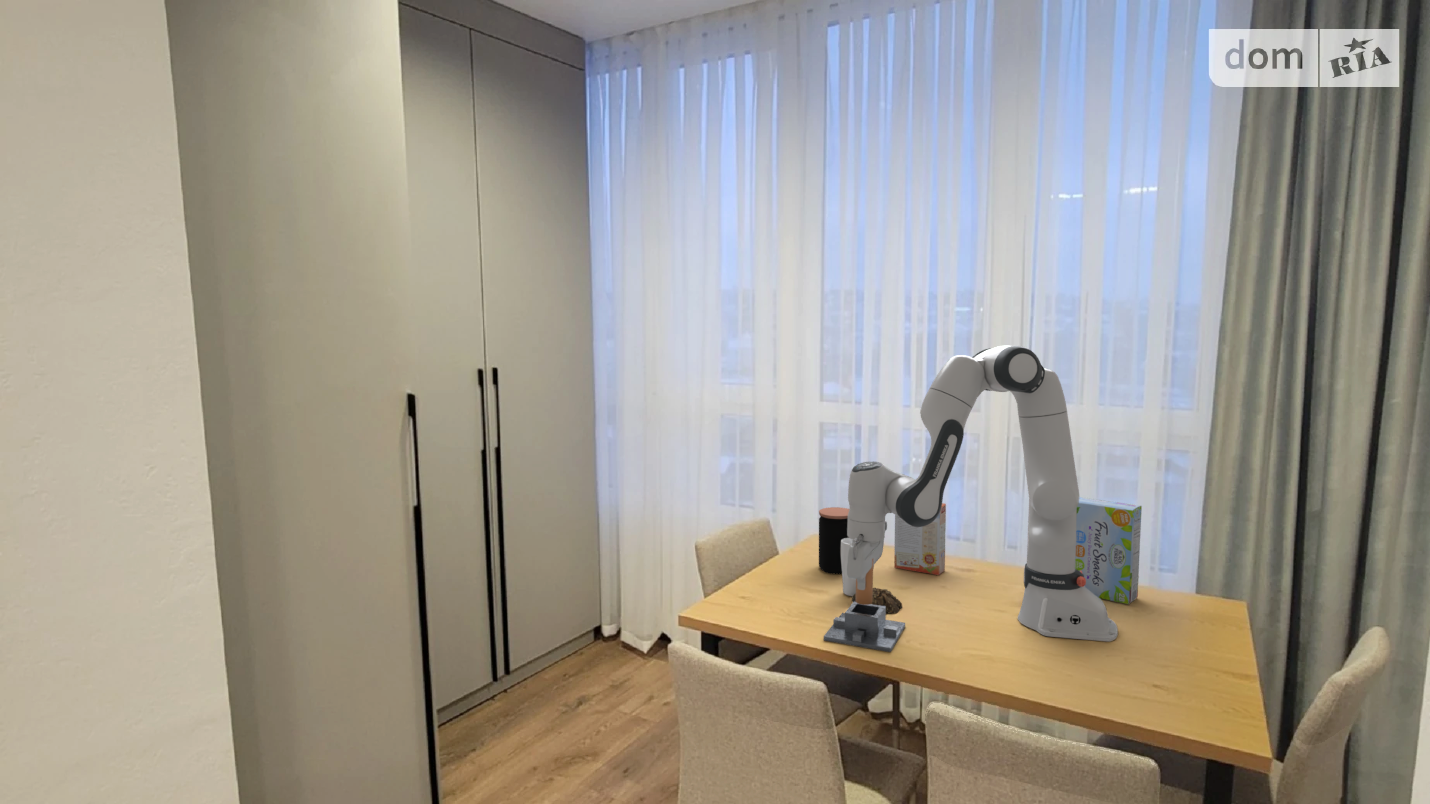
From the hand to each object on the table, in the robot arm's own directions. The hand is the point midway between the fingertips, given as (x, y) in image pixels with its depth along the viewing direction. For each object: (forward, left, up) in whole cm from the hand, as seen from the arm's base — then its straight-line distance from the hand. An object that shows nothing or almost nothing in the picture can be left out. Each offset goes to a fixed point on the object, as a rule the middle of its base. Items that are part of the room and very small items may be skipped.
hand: (864, 585), depth 186 cm
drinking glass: (+10, -25, -12) cm, 29 cm away
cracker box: (-3, -53, -12) cm, 54 cm away
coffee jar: (+20, -43, -12) cm, 49 cm away
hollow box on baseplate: (0, 0, -12) cm, 12 cm away
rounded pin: (0, 0, -4) cm, 4 cm away
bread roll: (+1, -19, -13) cm, 23 cm away
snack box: (-50, -52, -12) cm, 74 cm away
